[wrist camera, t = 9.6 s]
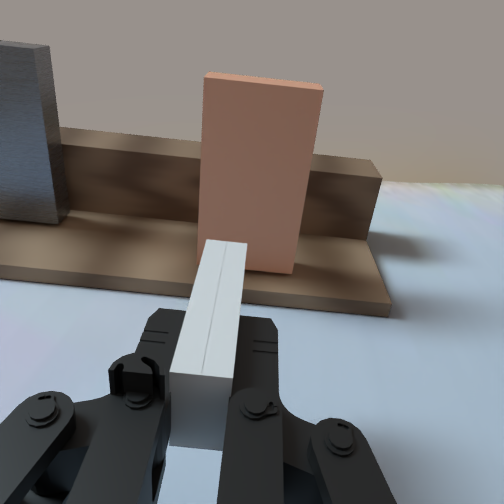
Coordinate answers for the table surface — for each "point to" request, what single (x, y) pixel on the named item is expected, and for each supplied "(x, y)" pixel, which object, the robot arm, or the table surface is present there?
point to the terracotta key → (256, 165)
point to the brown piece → (192, 228)
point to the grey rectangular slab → (30, 137)
